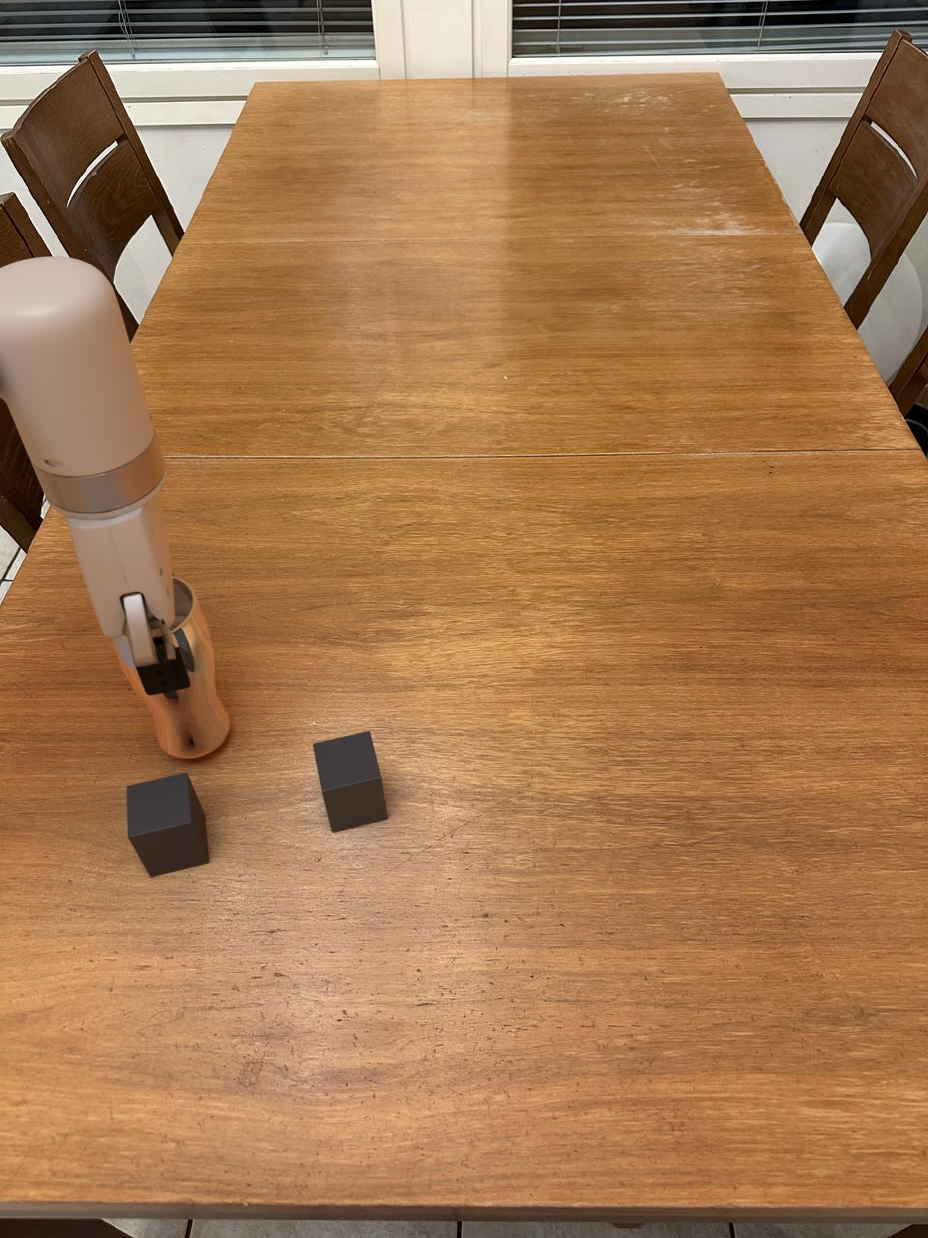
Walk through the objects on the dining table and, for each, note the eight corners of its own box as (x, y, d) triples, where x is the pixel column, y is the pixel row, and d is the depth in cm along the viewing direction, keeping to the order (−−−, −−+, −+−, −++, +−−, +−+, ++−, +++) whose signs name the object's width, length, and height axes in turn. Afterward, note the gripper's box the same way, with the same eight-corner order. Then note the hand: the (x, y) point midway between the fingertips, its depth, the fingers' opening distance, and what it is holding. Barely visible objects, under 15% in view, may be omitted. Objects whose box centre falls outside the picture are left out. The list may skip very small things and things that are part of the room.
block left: (149, 877, 72) (127, 837, 67) (147, 827, 75) (126, 785, 70) (209, 863, 72) (191, 822, 68) (205, 813, 75) (187, 771, 71)
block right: (331, 833, 74) (321, 791, 70) (322, 786, 77) (312, 743, 73) (388, 819, 75) (381, 777, 70) (376, 773, 78) (370, 730, 73)
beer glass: (208, 774, 76) (164, 652, 66) (135, 749, 78) (80, 626, 67) (251, 710, 81) (217, 586, 70) (181, 688, 83) (137, 563, 72)
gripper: (43, 396, 64) (114, 582, 77) (31, 567, 53) (117, 752, 66) (156, 380, 66) (207, 566, 79) (168, 543, 54) (226, 729, 67)
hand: (166, 649), depth 72 cm, fingers closed on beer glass, 7 cm apart
